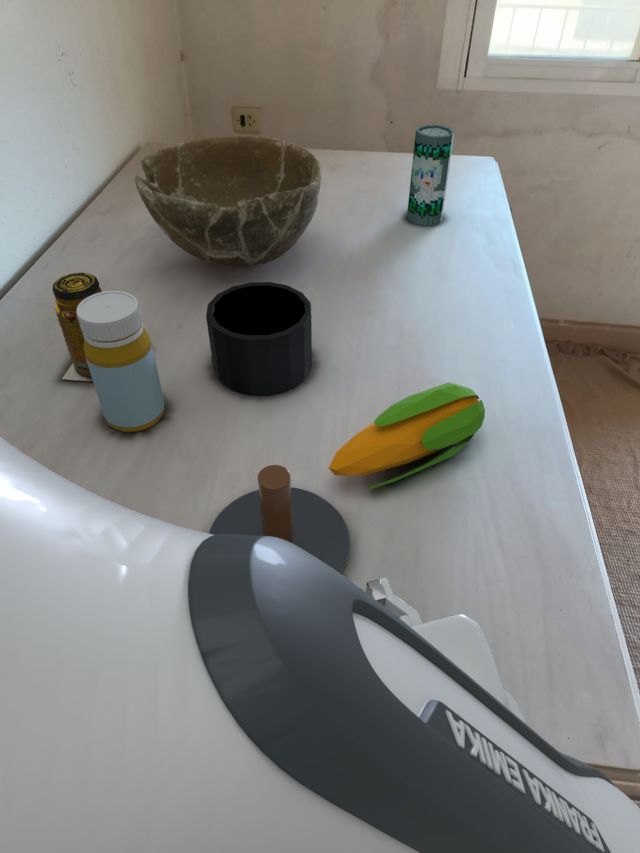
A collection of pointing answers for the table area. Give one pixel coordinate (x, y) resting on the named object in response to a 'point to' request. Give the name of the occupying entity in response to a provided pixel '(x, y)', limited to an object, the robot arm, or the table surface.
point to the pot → (260, 337)
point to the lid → (288, 518)
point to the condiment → (74, 318)
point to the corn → (413, 432)
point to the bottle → (121, 361)
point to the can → (429, 174)
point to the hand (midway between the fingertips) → (313, 599)
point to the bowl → (232, 196)
